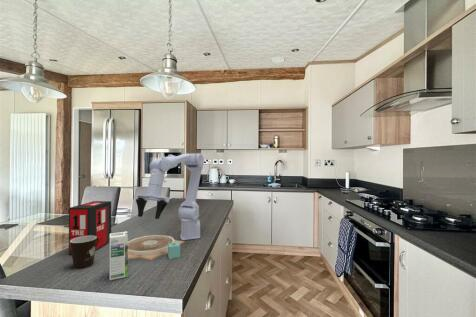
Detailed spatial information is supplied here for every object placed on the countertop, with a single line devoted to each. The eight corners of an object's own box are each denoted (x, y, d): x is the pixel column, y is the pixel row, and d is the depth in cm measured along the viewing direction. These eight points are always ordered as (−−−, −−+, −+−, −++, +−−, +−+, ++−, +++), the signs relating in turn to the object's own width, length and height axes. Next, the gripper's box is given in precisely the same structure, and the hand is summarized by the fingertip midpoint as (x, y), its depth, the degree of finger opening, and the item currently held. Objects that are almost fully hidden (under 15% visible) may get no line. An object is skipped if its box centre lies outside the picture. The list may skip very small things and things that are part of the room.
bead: (178, 253, 103) (178, 241, 103) (180, 257, 99) (180, 245, 99) (167, 255, 101) (167, 243, 101) (169, 259, 97) (169, 246, 97)
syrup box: (109, 281, 79) (109, 237, 79) (109, 273, 85) (109, 232, 85) (128, 277, 82) (128, 234, 82) (127, 270, 87) (127, 230, 87)
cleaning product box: (89, 255, 101) (89, 208, 101) (68, 254, 101) (68, 207, 102) (111, 241, 118) (111, 201, 118) (93, 241, 118) (93, 201, 118)
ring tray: (179, 234, 129) (179, 229, 130) (189, 254, 101) (189, 249, 101) (116, 241, 118) (116, 236, 118) (108, 267, 90) (108, 260, 90)
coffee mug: (76, 272, 85) (76, 244, 86) (65, 266, 90) (65, 240, 90) (108, 260, 95) (108, 235, 95) (97, 256, 100) (97, 232, 100)
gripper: (134, 182, 100) (127, 215, 97) (167, 185, 98) (160, 219, 94) (143, 185, 107) (136, 216, 104) (173, 188, 105) (167, 220, 101)
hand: (148, 217), depth 99 cm, fingers open, 7 cm apart
